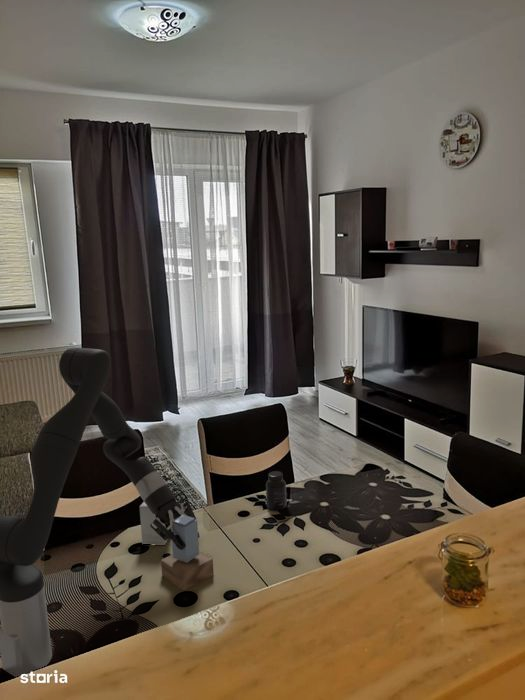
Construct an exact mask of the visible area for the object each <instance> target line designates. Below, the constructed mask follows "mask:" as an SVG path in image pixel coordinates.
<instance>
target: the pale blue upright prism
mask: <svg viewBox="0 0 525 700" xmlns="http://www.w3.org/2000/svg"><path fill="white" fill-rule="evenodd" d="M173 522H174V528H175V530H176V531H177V535H178V534H179V536H180V537H181V539H182V540H183V542H184V543H185V545H186V547H185V548H184V549H183V550H180V549H178V548H177V546H176V545H175V543H174V542H173V541H172V540H171V547H172V548H171V549H172V554H173V558H175V559H178V560H181V561H183V562H186V563H188V562H189V561H190V560H192V559H193V558H195V557H196V556H197V555H199V551H200V547H199V538H198V533H199V530H198V529H199V528H198V520H197V519H196V520H195V518H192V517H189V516H186V515H182V516H180V517H178V518H177V519H175V520H173ZM171 532H172V531H171Z"/></svg>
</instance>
